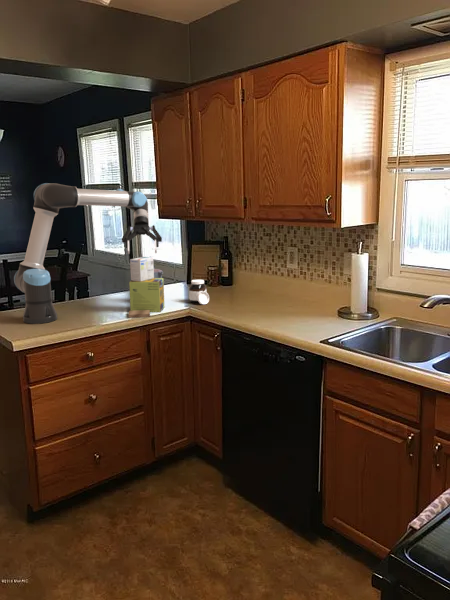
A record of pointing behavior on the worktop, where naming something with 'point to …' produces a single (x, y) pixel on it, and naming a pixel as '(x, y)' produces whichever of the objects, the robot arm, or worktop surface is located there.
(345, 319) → the worktop surface
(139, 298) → the protein box
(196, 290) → the spread jar
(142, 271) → the light bulb box
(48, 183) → the robot arm
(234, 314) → the worktop surface
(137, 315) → the walnut coaster board
